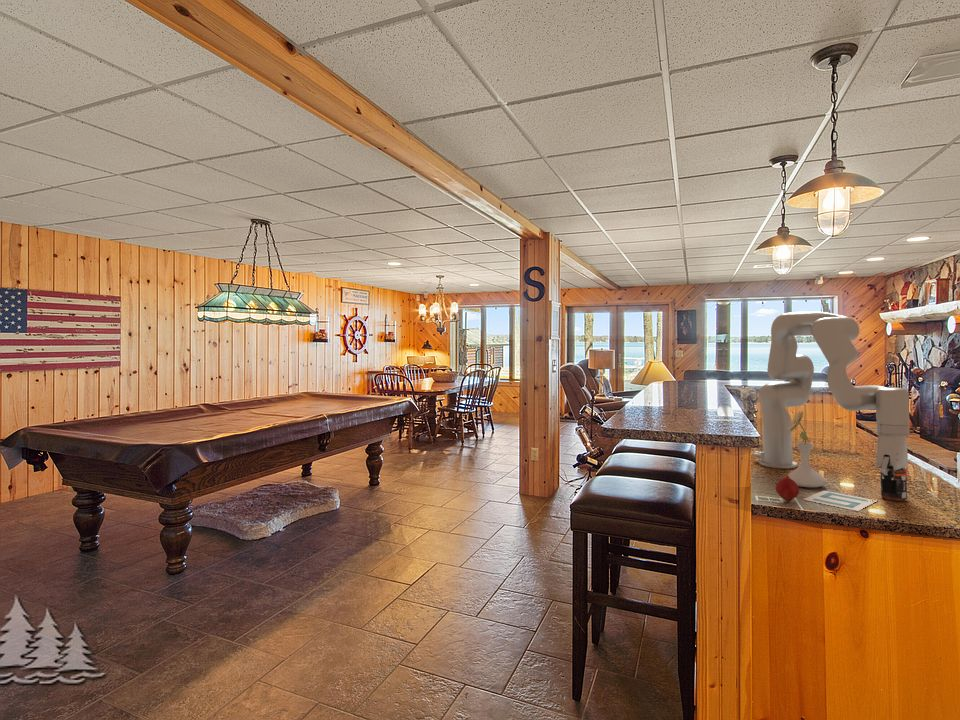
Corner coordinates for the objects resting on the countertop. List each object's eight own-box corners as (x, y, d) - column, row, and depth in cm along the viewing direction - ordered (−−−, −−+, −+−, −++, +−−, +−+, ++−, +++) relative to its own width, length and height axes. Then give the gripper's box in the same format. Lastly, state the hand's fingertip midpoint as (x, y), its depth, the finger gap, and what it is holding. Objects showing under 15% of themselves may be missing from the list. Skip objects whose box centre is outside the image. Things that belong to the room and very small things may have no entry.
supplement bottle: (912, 502, 144) (911, 463, 143) (888, 501, 145) (887, 463, 144) (899, 496, 149) (898, 458, 149) (876, 495, 151) (875, 458, 150)
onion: (771, 499, 151) (771, 473, 151) (789, 498, 151) (789, 471, 151) (785, 505, 145) (784, 477, 145) (803, 504, 146) (803, 476, 145)
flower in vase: (790, 479, 172) (788, 406, 171) (830, 484, 164) (828, 408, 163) (779, 487, 163) (777, 411, 162) (821, 493, 154) (819, 413, 154)
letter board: (802, 499, 149) (802, 499, 149) (823, 491, 157) (823, 490, 157) (858, 511, 138) (858, 510, 138) (877, 501, 145) (877, 500, 145)
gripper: (887, 425, 155) (889, 482, 155) (865, 431, 145) (866, 493, 145) (919, 427, 148) (920, 487, 149) (898, 435, 139) (899, 499, 139)
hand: (893, 490), depth 147 cm, fingers closed on supplement bottle, 6 cm apart
